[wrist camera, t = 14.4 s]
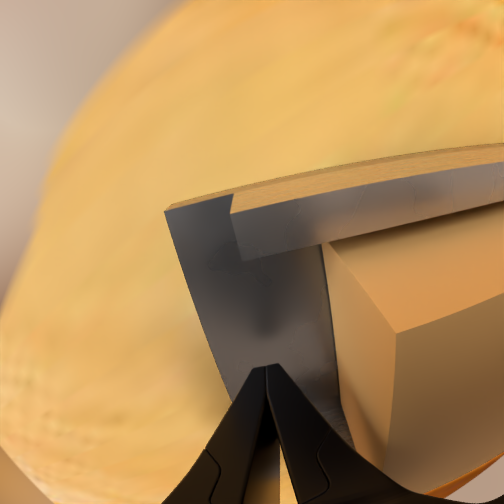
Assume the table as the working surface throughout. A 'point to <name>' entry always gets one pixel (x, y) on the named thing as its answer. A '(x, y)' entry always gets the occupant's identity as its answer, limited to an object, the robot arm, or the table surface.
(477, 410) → the block
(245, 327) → the press frame
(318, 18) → the table surface
